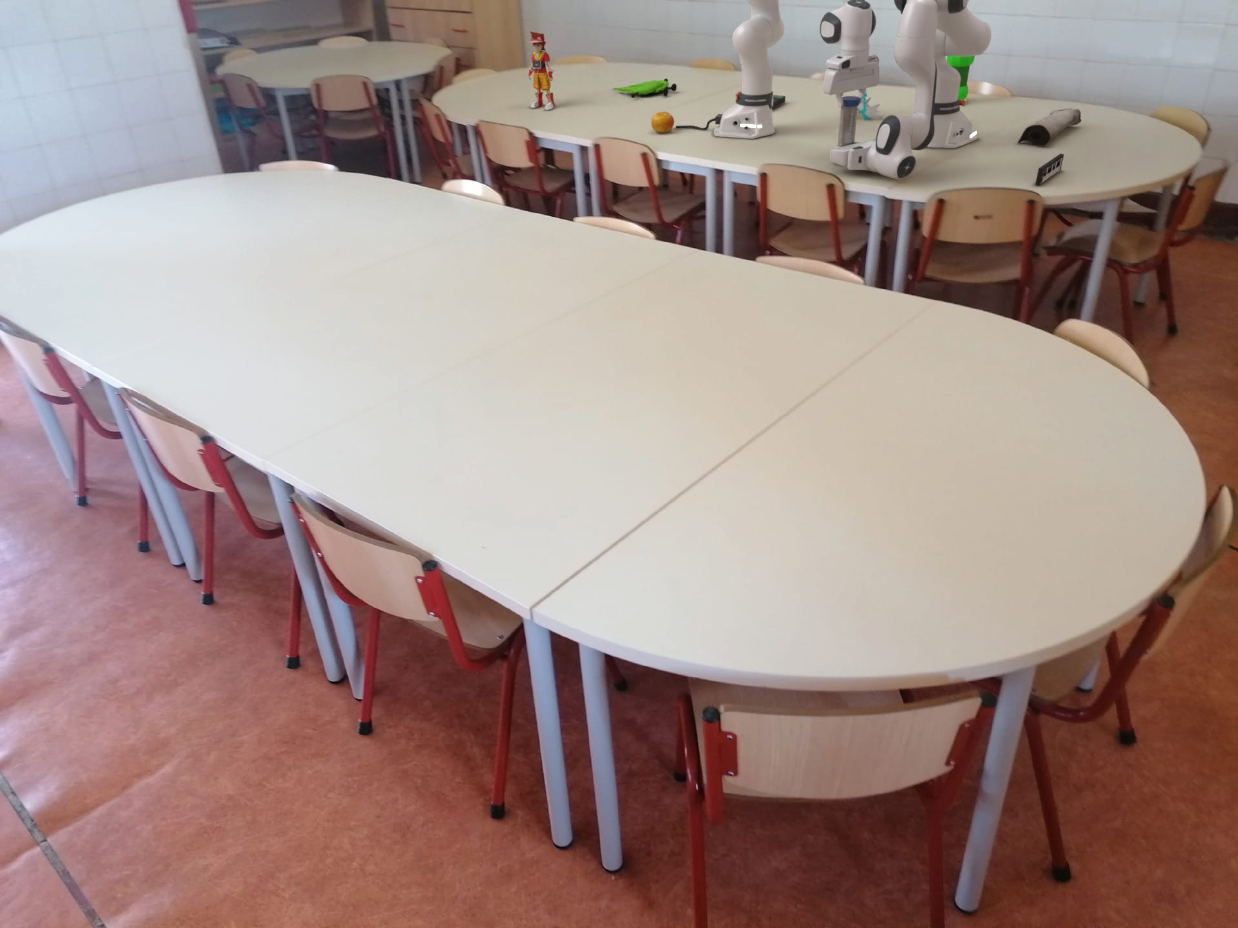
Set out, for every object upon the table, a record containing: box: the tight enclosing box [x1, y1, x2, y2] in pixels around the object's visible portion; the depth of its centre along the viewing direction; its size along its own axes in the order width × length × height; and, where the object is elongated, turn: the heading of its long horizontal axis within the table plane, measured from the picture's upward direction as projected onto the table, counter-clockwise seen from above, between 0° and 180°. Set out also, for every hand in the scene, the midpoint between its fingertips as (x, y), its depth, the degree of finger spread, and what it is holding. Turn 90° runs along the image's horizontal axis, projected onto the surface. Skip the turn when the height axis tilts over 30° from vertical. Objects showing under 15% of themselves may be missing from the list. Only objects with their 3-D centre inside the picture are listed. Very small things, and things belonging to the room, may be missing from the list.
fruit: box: [650, 111, 675, 133], centre depth 339 cm, size 8×8×8 cm
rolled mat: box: [1017, 107, 1082, 147], centre depth 310 cm, size 30×9×10 cm
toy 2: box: [612, 78, 677, 99], centre depth 396 cm, size 28×5×30 cm
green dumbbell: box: [946, 55, 976, 100], centre depth 348 cm, size 10×10×25 cm
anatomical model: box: [852, 91, 885, 120], centre depth 343 cm, size 15×10×10 cm
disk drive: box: [772, 94, 786, 110], centre depth 364 cm, size 10×3×15 cm
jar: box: [837, 106, 859, 166], centre depth 292 cm, size 5×5×20 cm
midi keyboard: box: [1035, 153, 1065, 186], centre depth 273 cm, size 18×1×5 cm, turn 138°
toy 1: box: [527, 31, 556, 111], centre depth 374 cm, size 12×9×30 cm
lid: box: [842, 95, 860, 107], centre depth 287 cm, size 6×6×2 cm
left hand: (849, 105), depth 287 cm, fingers closed on lid, 6 cm apart
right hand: (843, 146), depth 295 cm, fingers closed on jar, 5 cm apart
